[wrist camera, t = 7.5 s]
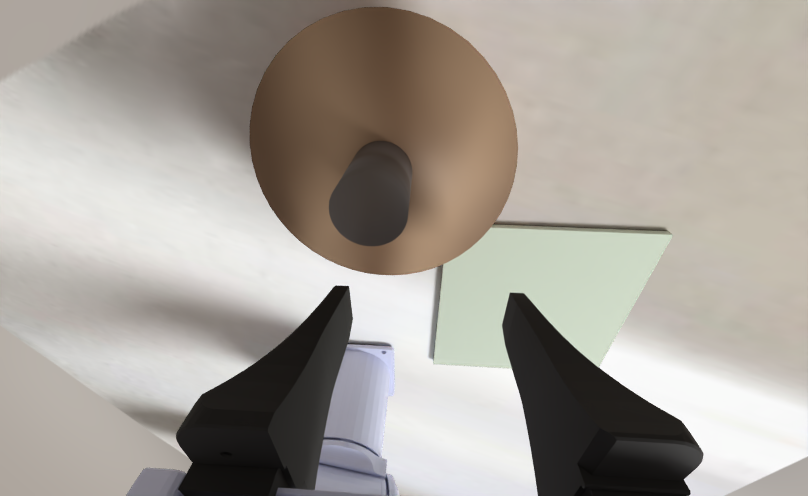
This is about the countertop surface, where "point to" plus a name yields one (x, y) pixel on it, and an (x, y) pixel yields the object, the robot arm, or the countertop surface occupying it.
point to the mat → (543, 288)
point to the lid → (383, 141)
